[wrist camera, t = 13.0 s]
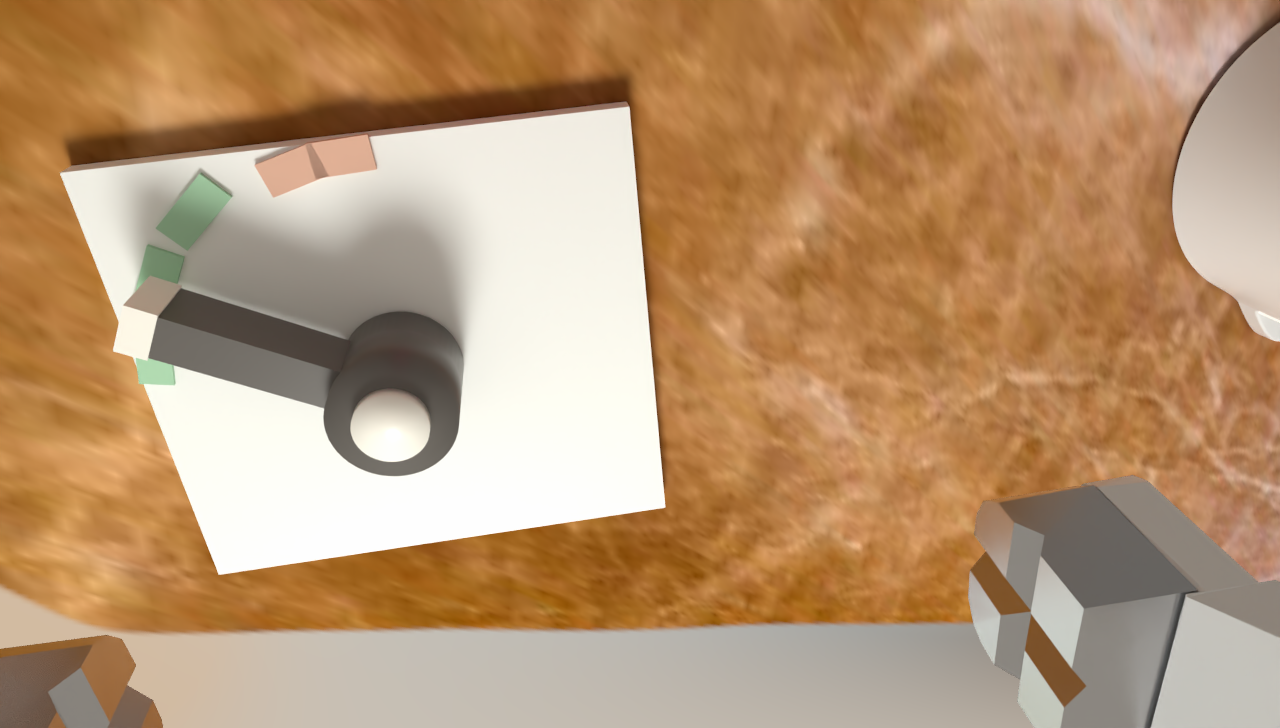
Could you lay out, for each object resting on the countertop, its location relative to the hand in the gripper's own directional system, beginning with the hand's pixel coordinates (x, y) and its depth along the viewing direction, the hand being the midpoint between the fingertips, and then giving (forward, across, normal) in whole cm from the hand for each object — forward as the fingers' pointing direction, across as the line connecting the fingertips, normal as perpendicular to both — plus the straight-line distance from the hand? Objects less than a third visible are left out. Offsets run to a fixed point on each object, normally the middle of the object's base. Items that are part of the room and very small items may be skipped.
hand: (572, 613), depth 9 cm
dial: (+30, +10, +10) cm, 33 cm away
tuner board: (+31, +7, +12) cm, 34 cm away
